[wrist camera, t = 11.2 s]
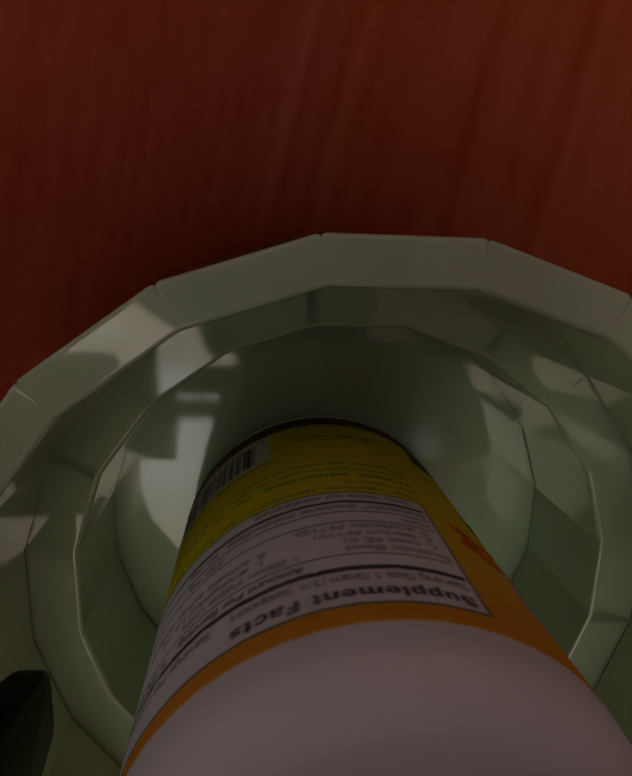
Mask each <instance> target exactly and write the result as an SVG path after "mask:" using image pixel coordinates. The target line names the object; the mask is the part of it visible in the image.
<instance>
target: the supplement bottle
mask: <svg viewBox="0 0 632 776" xmlns="http://www.w3.org/2000/svg"><path fill="white" fill-rule="evenodd" d="M120 776H632V745H631V744H630V742H629V741H628V739H627V737H626V736H625V734H624V733H623V731H622V730H621V728H620V727H619V725H618V724H617V722H616V721H615V720H614V718H613V717H612V715H611V714H610V712H609V711H608V709H607V708H606V707H605V705H604V704H603V702H602V701H601V699H600V698H599V697H598V695H597V694H596V693H595V691H594V690H593V689H592V687H591V686H590V685H589V684H588V682H587V681H586V680H585V678H584V677H583V676H582V674H581V673H580V672H579V671H578V669H577V668H576V667H575V665H574V664H573V663H572V661H571V660H570V659H569V658H568V656H567V655H566V654H565V652H564V651H563V650H562V648H561V647H560V646H559V644H558V643H557V642H556V641H555V639H554V638H553V636H552V635H551V634H550V632H549V631H548V629H547V628H546V626H545V625H544V624H543V623H542V622H541V621H540V619H539V618H538V617H537V615H536V614H535V613H534V611H533V610H532V609H531V607H530V606H529V605H528V603H527V602H526V601H525V599H524V598H523V597H522V595H521V594H520V593H519V592H518V590H517V589H516V588H515V586H514V585H513V584H512V582H511V581H510V580H509V578H508V577H507V576H506V574H505V573H504V572H503V571H502V569H501V568H500V567H499V565H498V564H497V563H496V562H495V560H494V559H493V557H492V556H491V555H490V554H489V552H488V551H487V550H486V548H485V547H484V545H483V544H482V543H481V542H480V540H479V539H478V537H477V536H476V534H475V533H474V532H473V530H472V529H471V527H470V526H469V525H468V524H467V523H466V522H465V521H464V519H463V518H462V517H461V515H460V514H459V512H458V511H457V510H456V508H455V507H454V506H453V504H452V503H451V502H450V500H449V499H448V498H447V496H446V495H445V494H444V492H443V491H442V490H441V489H440V487H439V486H438V485H437V483H436V482H435V480H434V479H433V478H432V476H431V475H430V473H429V472H428V471H427V470H426V469H425V468H424V467H423V465H422V464H421V463H420V462H419V461H418V459H417V458H416V457H415V456H414V455H413V454H412V453H411V452H410V451H409V450H408V449H407V448H406V447H405V446H404V445H403V444H401V443H400V442H399V441H397V440H396V439H395V438H393V437H392V436H390V435H389V434H387V433H385V432H383V431H381V430H380V429H378V428H375V427H373V426H371V425H368V424H365V423H363V422H360V421H356V420H352V419H348V418H343V417H337V416H324V415H323V416H305V417H297V418H292V419H288V420H284V421H280V422H278V423H275V424H272V425H269V426H267V427H264V428H262V429H260V430H258V431H256V432H254V433H252V434H251V435H249V436H247V437H246V438H244V439H243V440H241V441H240V442H239V443H237V444H236V445H235V446H233V447H232V448H231V449H230V450H229V451H227V452H226V453H225V454H224V455H223V456H222V457H221V458H220V460H219V461H218V462H217V463H216V464H215V465H214V467H213V468H212V469H211V470H210V472H209V473H208V475H207V476H206V478H205V479H204V481H203V483H202V485H201V486H200V488H199V490H198V493H197V495H196V497H195V500H194V502H193V505H192V508H191V511H190V513H189V516H188V520H187V524H186V528H185V532H184V535H183V538H182V542H181V545H180V548H179V551H178V555H177V560H176V563H175V567H174V571H173V575H172V579H171V583H170V586H169V589H168V593H167V597H166V601H165V604H164V608H163V612H162V616H161V620H160V624H159V627H158V630H157V634H156V639H155V643H154V647H153V650H152V654H151V658H150V662H149V665H148V669H147V673H146V677H145V681H144V684H143V688H142V692H141V696H140V699H139V703H138V707H137V711H136V715H135V719H134V722H133V726H132V730H131V733H130V737H129V740H128V744H127V748H126V752H125V756H124V760H123V764H122V768H121V772H120Z"/></svg>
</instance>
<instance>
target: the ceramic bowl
mask: <svg viewBox="0 0 632 776" xmlns="http://www.w3.org/2000/svg"><path fill="white" fill-rule="evenodd" d="M323 415H324V416H337V417H343V418H348V419H352V420H356V421H360V422H363V423H365V424H368V425H371V426H373V427H375V428H378V429H380V430H381V431H383V432H385V433H387V434H389V435H390V436H392V437H393V438H395V439H396V440H397V441H399V442H400V443H401V444H403V445H404V446H405V447H406V448H407V449H408V450H409V451H410V452H411V453H412V454H413V455H414V456H415V457H416V458H417V459H418V461H419V462H420V463H421V464H422V465H423V467H424V468H425V469H426V470H427V471H428V472H429V473H430V475H431V476H432V478H433V479H434V480H435V482H436V483H437V485H438V486H439V487H440V489H441V490H442V491H443V492H444V494H445V495H446V496H447V498H448V499H449V500H450V502H451V503H452V504H453V506H454V507H455V508H456V510H457V511H458V512H459V514H460V515H461V517H462V518H463V519H464V521H465V522H466V523H467V524H468V525H469V526H470V527H471V529H472V530H473V532H474V533H475V534H476V536H477V537H478V539H479V540H480V542H481V543H482V544H483V545H484V547H485V548H486V550H487V551H488V552H489V554H490V555H491V556H492V557H493V559H494V560H495V562H496V563H497V564H498V565H499V567H500V568H501V569H502V571H503V572H504V573H505V574H506V576H507V577H508V578H509V580H510V581H511V582H512V584H513V585H514V586H515V588H516V589H517V590H518V592H519V593H520V594H521V595H522V597H523V598H524V599H525V601H526V602H527V603H528V605H529V606H530V607H531V609H532V610H533V611H534V613H535V614H536V615H537V617H538V618H539V619H540V621H541V622H542V623H543V624H544V625H545V626H546V628H547V629H548V631H549V632H550V634H551V635H552V636H553V638H554V639H555V641H556V642H557V643H558V644H559V646H560V647H561V648H562V650H563V651H564V652H565V654H566V655H567V656H568V658H569V659H570V660H571V661H572V663H573V664H574V665H575V667H576V668H577V669H578V671H579V672H580V673H581V674H582V676H583V677H584V678H585V680H586V681H587V682H588V684H589V685H590V686H591V687H592V689H593V690H594V691H595V693H596V694H597V695H598V697H599V698H600V699H601V701H602V702H603V704H604V705H605V707H606V708H607V709H608V711H609V712H610V714H611V715H612V717H613V718H614V720H615V721H616V722H617V724H618V725H619V727H620V728H621V730H622V731H623V733H624V734H625V736H626V737H627V739H628V741H629V742H630V744H631V745H632V297H631V296H630V295H629V294H628V293H627V292H624V291H622V290H619V289H617V288H614V287H612V286H609V285H607V284H604V283H602V282H599V281H596V280H594V279H591V278H589V277H586V276H584V275H581V274H579V273H576V272H574V271H571V270H569V269H566V268H564V267H561V266H558V265H556V264H553V263H551V262H548V261H546V260H543V259H541V258H538V257H536V256H533V255H531V254H528V253H525V252H523V251H520V250H518V249H515V248H513V247H510V246H508V245H505V244H503V243H500V242H498V241H495V240H487V239H485V238H479V237H450V236H421V235H392V234H363V233H334V232H324V233H318V234H310V235H304V236H299V237H293V238H288V239H285V240H282V241H278V242H275V243H272V244H268V245H265V246H262V247H258V248H255V249H252V250H248V251H245V252H242V253H238V254H235V255H232V256H228V257H225V258H222V259H218V260H215V261H212V262H208V263H205V264H202V265H199V266H197V267H194V268H191V269H189V270H186V271H183V272H180V273H178V274H175V275H172V276H170V277H167V278H164V279H162V280H159V281H158V282H156V283H154V284H151V285H149V286H147V287H146V288H144V289H143V290H142V291H140V292H139V293H137V294H136V295H134V296H133V297H132V298H130V299H129V300H127V301H126V302H125V303H123V304H122V305H120V306H119V307H118V308H116V309H115V310H113V311H112V312H111V313H109V314H108V315H106V316H105V317H104V318H102V319H101V320H99V321H98V322H97V323H95V324H94V325H92V326H91V327H90V328H88V329H87V330H85V331H84V332H83V333H81V334H80V335H78V336H77V337H76V338H74V339H73V340H71V341H70V342H68V343H67V344H66V345H64V346H63V347H61V348H60V349H59V350H57V351H56V352H54V353H53V354H52V355H50V356H49V357H47V358H46V359H45V360H43V361H42V362H40V363H39V364H38V365H36V366H35V367H33V368H32V369H31V370H29V371H28V372H26V373H25V374H24V375H22V376H21V377H19V379H18V380H17V383H15V384H14V385H12V386H11V387H10V389H9V390H8V391H7V393H6V394H5V396H4V397H3V399H2V400H1V402H0V682H1V681H2V680H3V679H5V678H6V677H7V676H9V675H10V674H12V673H13V672H15V671H19V670H40V669H43V670H46V671H47V672H48V673H49V676H50V679H51V690H52V701H53V712H54V731H53V737H52V742H51V745H50V749H49V753H48V756H47V760H46V763H45V767H44V770H43V774H42V776H120V772H121V768H122V764H123V760H124V756H125V752H126V748H127V744H128V740H129V737H130V733H131V730H132V726H133V722H134V719H135V715H136V711H137V707H138V703H139V699H140V696H141V692H142V688H143V684H144V681H145V677H146V673H147V669H148V665H149V662H150V658H151V654H152V650H153V647H154V643H155V639H156V634H157V630H158V627H159V624H160V620H161V616H162V612H163V608H164V604H165V601H166V597H167V593H168V589H169V586H170V583H171V579H172V575H173V571H174V567H175V563H176V560H177V555H178V551H179V548H180V545H181V542H182V538H183V535H184V532H185V528H186V524H187V520H188V516H189V513H190V511H191V508H192V505H193V502H194V500H195V497H196V495H197V493H198V490H199V488H200V486H201V485H202V483H203V481H204V479H205V478H206V476H207V475H208V473H209V472H210V470H211V469H212V468H213V467H214V465H215V464H216V463H217V462H218V461H219V460H220V458H221V457H222V456H223V455H224V454H225V453H226V452H227V451H229V450H230V449H231V448H232V447H233V446H235V445H236V444H237V443H239V442H240V441H241V440H243V439H244V438H246V437H247V436H249V435H251V434H252V433H254V432H256V431H258V430H260V429H262V428H264V427H267V426H269V425H272V424H275V423H278V422H280V421H284V420H288V419H292V418H297V417H305V416H323Z"/></svg>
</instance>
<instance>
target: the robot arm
mask: <svg viewBox="0 0 632 776" xmlns="http://www.w3.org/2000/svg"><path fill="white" fill-rule="evenodd" d="M53 731H54V712H53V701H52V690H51V679H50V676H49V673H48V672H47V671H46V670H43V669H40V670H19V671H15V672H13V673H12V674H10V675H9V676H7V677H6V678H5V679H3V680H2V681H1V682H0V776H42V774H43V770H44V767H45V763H46V760H47V756H48V753H49V749H50V745H51V742H52V737H53Z"/></svg>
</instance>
